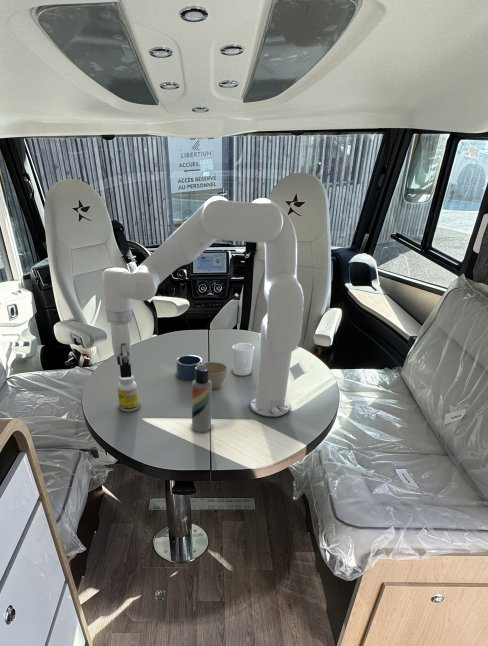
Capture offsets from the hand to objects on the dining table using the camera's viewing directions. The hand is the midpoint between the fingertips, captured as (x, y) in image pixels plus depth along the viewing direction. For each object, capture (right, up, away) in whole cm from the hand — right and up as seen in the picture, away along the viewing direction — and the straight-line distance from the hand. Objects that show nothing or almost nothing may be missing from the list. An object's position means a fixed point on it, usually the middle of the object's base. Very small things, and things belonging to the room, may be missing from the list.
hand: (124, 370), depth 138 cm
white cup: (+40, +6, +31) cm, 51 cm away
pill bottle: (0, -11, +8) cm, 13 cm away
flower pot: (+28, -1, +21) cm, 35 cm away
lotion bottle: (+24, -18, -2) cm, 30 cm away
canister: (+20, +4, +28) cm, 35 cm away
